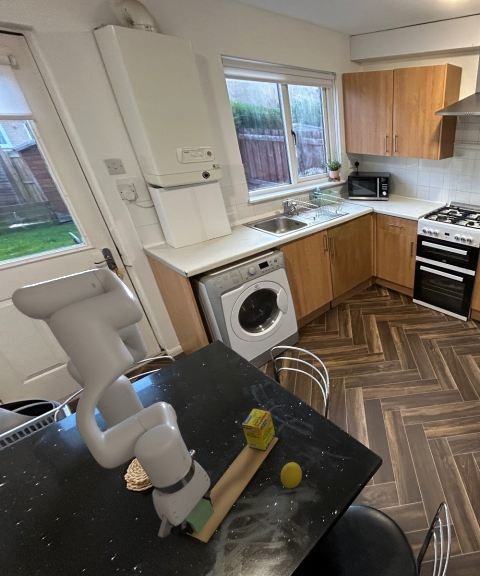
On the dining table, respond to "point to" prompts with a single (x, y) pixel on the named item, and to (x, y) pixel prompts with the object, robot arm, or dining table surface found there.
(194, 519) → the green block
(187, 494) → the robot arm
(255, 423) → the supplement box
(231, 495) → the wooden strip
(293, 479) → the lemon
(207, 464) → the dining table surface
